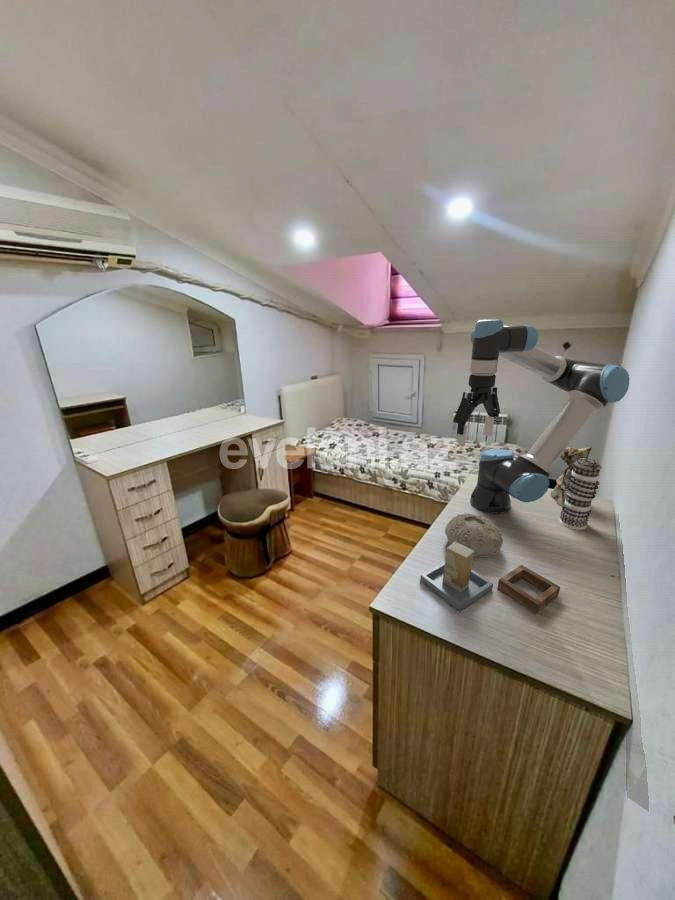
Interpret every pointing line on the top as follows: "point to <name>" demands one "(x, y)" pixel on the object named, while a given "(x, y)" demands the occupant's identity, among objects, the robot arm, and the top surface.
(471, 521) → the decorative shell
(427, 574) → the tray
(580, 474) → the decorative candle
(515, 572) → the socket block
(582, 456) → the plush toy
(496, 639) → the top surface
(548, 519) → the top surface
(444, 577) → the skincare box
